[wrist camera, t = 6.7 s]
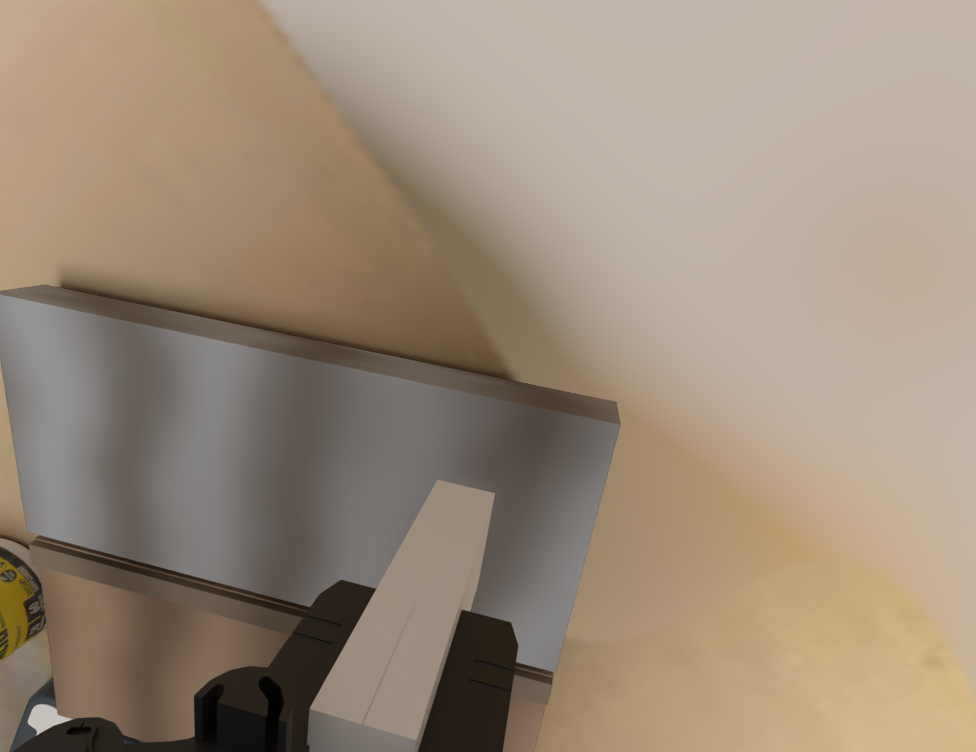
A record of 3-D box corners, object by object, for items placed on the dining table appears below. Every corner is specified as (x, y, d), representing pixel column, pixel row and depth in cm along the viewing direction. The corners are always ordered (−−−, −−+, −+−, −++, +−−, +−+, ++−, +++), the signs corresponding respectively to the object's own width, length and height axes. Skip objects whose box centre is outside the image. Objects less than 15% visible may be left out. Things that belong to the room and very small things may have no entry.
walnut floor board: (94, 680, 27) (51, 720, 25) (79, 512, 24) (28, 542, 22) (513, 804, 24) (506, 861, 22) (555, 635, 21) (552, 682, 19)
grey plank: (71, 506, 23) (26, 532, 21) (45, 284, 20) (-11, 292, 18) (557, 630, 21) (555, 672, 19) (616, 401, 18) (620, 424, 16)
